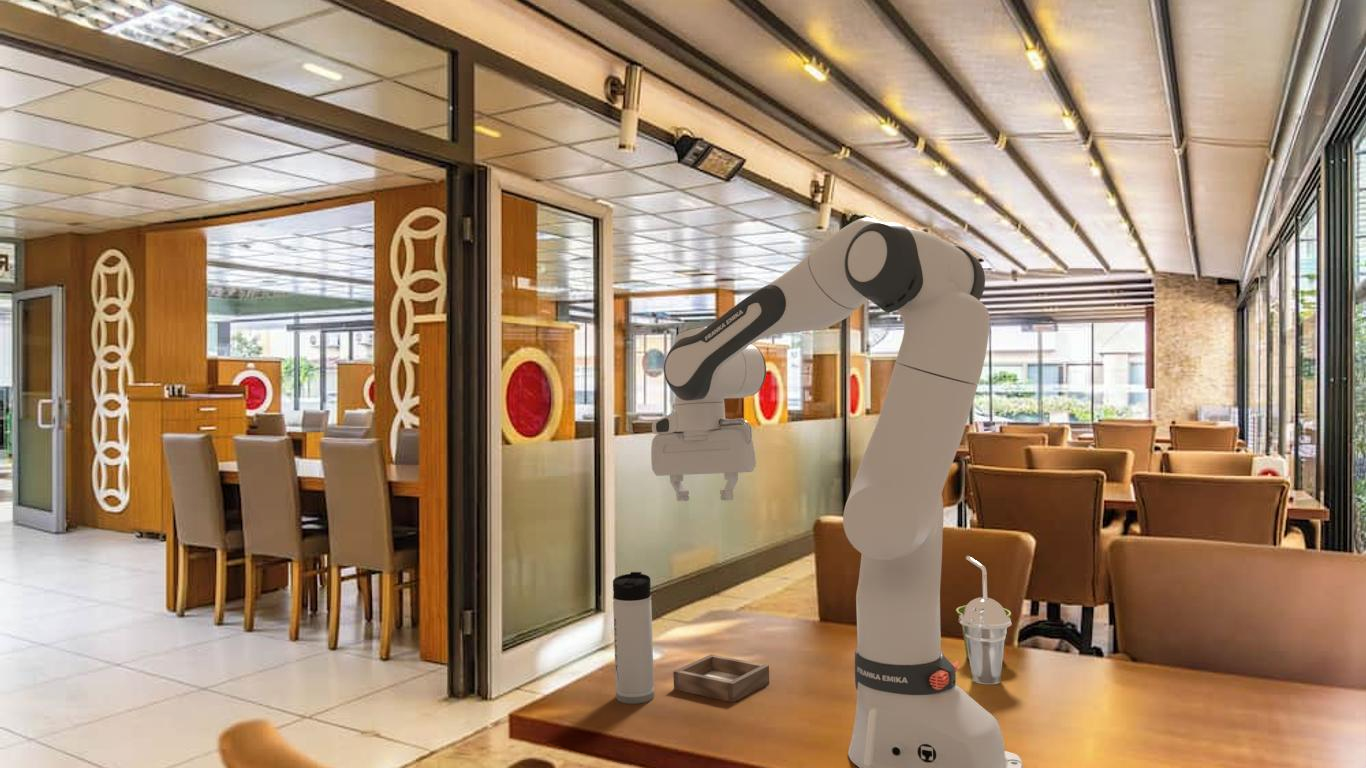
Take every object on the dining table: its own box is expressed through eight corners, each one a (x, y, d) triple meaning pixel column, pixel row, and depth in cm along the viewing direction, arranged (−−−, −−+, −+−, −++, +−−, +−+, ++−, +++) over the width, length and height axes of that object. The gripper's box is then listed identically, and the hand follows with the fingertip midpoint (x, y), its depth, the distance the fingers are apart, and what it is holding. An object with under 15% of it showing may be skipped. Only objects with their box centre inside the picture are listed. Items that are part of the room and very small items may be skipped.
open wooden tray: (769, 683, 158) (768, 665, 158) (733, 702, 149) (732, 683, 149) (711, 671, 165) (710, 654, 165) (673, 689, 156) (673, 671, 156)
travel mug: (658, 691, 155) (654, 571, 155) (649, 705, 149) (645, 580, 149) (622, 689, 157) (618, 571, 156) (611, 703, 150) (607, 580, 150)
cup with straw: (961, 687, 153) (958, 566, 153) (958, 670, 162) (955, 555, 162) (1015, 690, 151) (1012, 567, 151) (1010, 672, 160) (1007, 556, 160)
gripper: (760, 417, 159) (765, 498, 158) (665, 424, 171) (669, 500, 170) (740, 417, 154) (744, 501, 153) (644, 424, 166) (648, 502, 165)
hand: (704, 500), depth 162 cm, fingers open, 8 cm apart
